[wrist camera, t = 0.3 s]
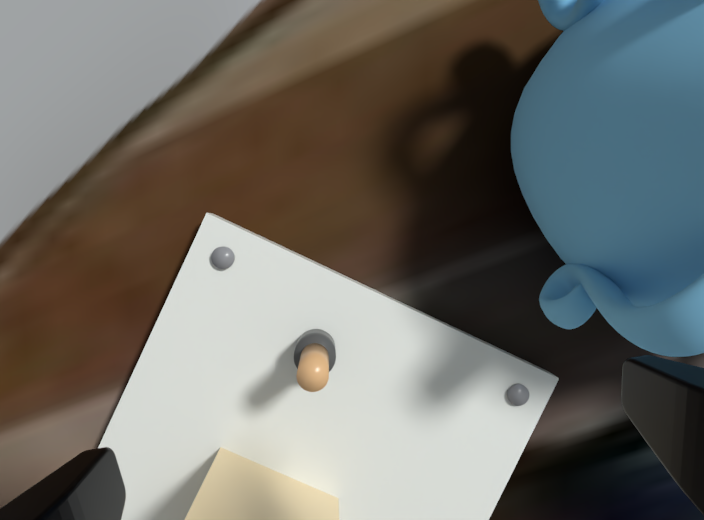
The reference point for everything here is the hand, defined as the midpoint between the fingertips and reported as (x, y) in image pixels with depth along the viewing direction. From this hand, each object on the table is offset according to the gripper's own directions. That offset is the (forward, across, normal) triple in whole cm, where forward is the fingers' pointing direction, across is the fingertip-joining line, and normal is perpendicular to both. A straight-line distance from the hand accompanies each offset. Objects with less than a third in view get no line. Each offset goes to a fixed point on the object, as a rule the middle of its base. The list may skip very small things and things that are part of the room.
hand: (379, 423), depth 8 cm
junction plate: (+13, +2, +9) cm, 16 cm away
